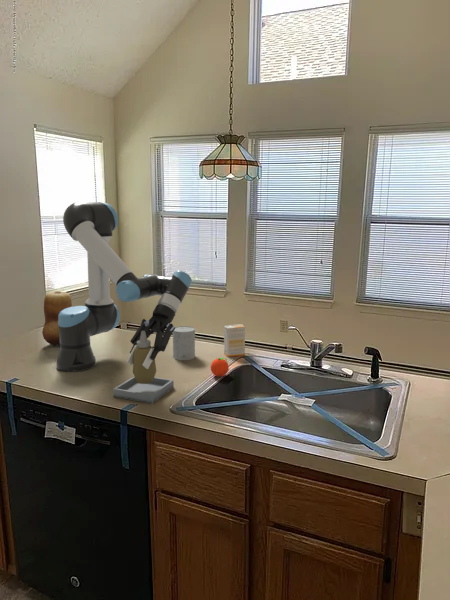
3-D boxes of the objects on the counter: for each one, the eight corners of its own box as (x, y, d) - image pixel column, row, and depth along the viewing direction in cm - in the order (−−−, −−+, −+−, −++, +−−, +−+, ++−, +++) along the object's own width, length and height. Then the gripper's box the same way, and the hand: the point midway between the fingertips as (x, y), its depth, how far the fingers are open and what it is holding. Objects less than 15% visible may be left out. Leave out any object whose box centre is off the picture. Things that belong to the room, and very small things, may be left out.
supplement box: (241, 352, 205) (241, 323, 202) (244, 355, 200) (245, 326, 198) (223, 353, 202) (223, 325, 200) (227, 357, 198) (227, 327, 195)
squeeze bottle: (136, 387, 154) (135, 335, 150) (130, 379, 161) (128, 329, 157) (159, 383, 157) (158, 332, 154) (152, 375, 164) (150, 326, 161)
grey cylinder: (168, 358, 196) (168, 330, 193) (179, 352, 204) (179, 325, 202) (189, 361, 192) (188, 333, 190) (198, 354, 201) (198, 327, 198)
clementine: (220, 370, 181) (220, 353, 180) (234, 374, 177) (234, 357, 176) (206, 376, 175) (206, 358, 174) (220, 380, 171) (220, 362, 170)
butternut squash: (68, 349, 207) (64, 294, 202) (38, 348, 207) (34, 294, 202) (78, 340, 220) (75, 289, 215) (50, 340, 220) (47, 288, 215)
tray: (113, 396, 156) (113, 388, 155) (137, 381, 170) (137, 374, 169) (152, 403, 150) (152, 395, 150) (173, 387, 164) (173, 380, 164)
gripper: (192, 318, 163) (164, 375, 153) (150, 311, 173) (121, 365, 162) (183, 306, 157) (154, 365, 147) (140, 300, 167) (110, 355, 157)
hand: (137, 365), depth 155 cm, fingers closed on squeeze bottle, 6 cm apart
